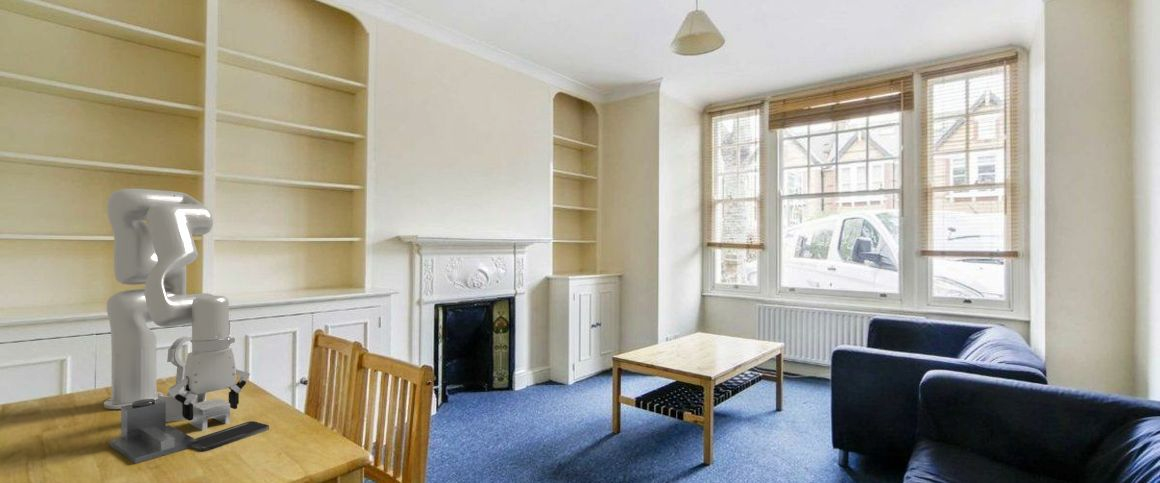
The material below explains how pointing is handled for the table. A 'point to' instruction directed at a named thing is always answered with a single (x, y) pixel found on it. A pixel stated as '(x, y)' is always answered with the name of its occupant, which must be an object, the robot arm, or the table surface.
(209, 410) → the block
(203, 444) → the phone
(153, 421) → the coupler
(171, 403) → the engine component
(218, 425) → the table surface
